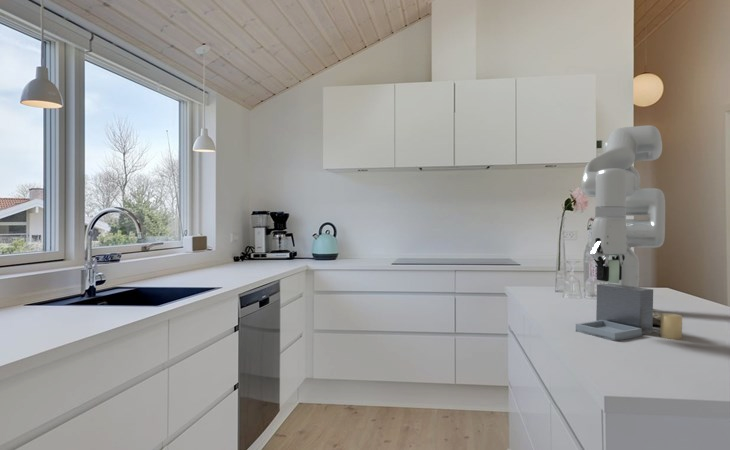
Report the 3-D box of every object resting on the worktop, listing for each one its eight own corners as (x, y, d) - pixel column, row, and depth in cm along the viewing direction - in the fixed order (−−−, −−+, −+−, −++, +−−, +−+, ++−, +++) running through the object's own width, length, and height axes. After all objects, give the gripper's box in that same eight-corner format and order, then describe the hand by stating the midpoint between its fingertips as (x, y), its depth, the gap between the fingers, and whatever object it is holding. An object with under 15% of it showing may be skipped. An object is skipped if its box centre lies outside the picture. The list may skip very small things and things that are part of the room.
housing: (609, 321, 141) (609, 282, 141) (655, 332, 129) (656, 289, 128) (593, 324, 137) (593, 284, 137) (639, 335, 125) (640, 291, 125)
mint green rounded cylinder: (606, 280, 129) (606, 258, 129) (622, 282, 125) (623, 260, 125) (595, 281, 127) (595, 259, 127) (611, 283, 123) (612, 261, 123)
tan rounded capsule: (666, 334, 127) (667, 312, 126) (685, 338, 122) (686, 316, 122) (656, 336, 124) (657, 314, 124) (675, 340, 120) (676, 317, 120)
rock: (670, 330, 131) (671, 316, 131) (627, 324, 139) (627, 310, 139) (677, 325, 139) (677, 311, 139) (635, 319, 146) (635, 305, 146)
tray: (602, 326, 134) (602, 319, 134) (641, 336, 124) (641, 328, 124) (575, 330, 129) (575, 323, 129) (614, 340, 119) (614, 333, 119)
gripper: (616, 214, 133) (615, 276, 134) (577, 213, 125) (576, 280, 126) (642, 214, 127) (641, 280, 127) (603, 213, 119) (601, 283, 119)
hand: (609, 279), depth 126 cm, fingers closed on mint green rounded cylinder, 4 cm apart
